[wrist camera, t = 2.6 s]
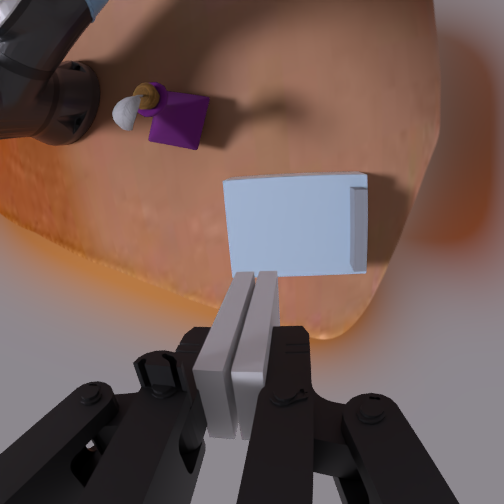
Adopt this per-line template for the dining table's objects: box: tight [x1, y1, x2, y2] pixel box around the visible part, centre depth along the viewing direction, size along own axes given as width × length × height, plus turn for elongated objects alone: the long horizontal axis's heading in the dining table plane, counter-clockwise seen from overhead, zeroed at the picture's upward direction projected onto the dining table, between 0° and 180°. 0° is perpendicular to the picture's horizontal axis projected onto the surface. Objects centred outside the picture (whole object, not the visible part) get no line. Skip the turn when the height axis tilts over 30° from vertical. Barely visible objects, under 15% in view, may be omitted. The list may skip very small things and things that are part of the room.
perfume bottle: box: [112, 82, 210, 150], centre depth 34 cm, size 8×8×18 cm
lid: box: [223, 174, 368, 278], centre depth 39 cm, size 18×13×4 cm
